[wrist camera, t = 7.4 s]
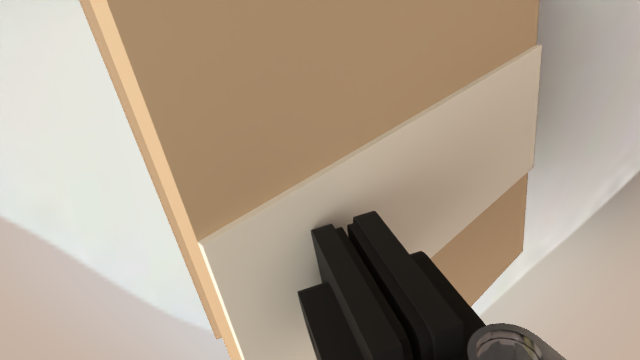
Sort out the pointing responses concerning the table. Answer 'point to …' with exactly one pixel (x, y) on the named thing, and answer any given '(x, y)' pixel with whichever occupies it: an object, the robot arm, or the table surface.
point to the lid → (330, 138)
